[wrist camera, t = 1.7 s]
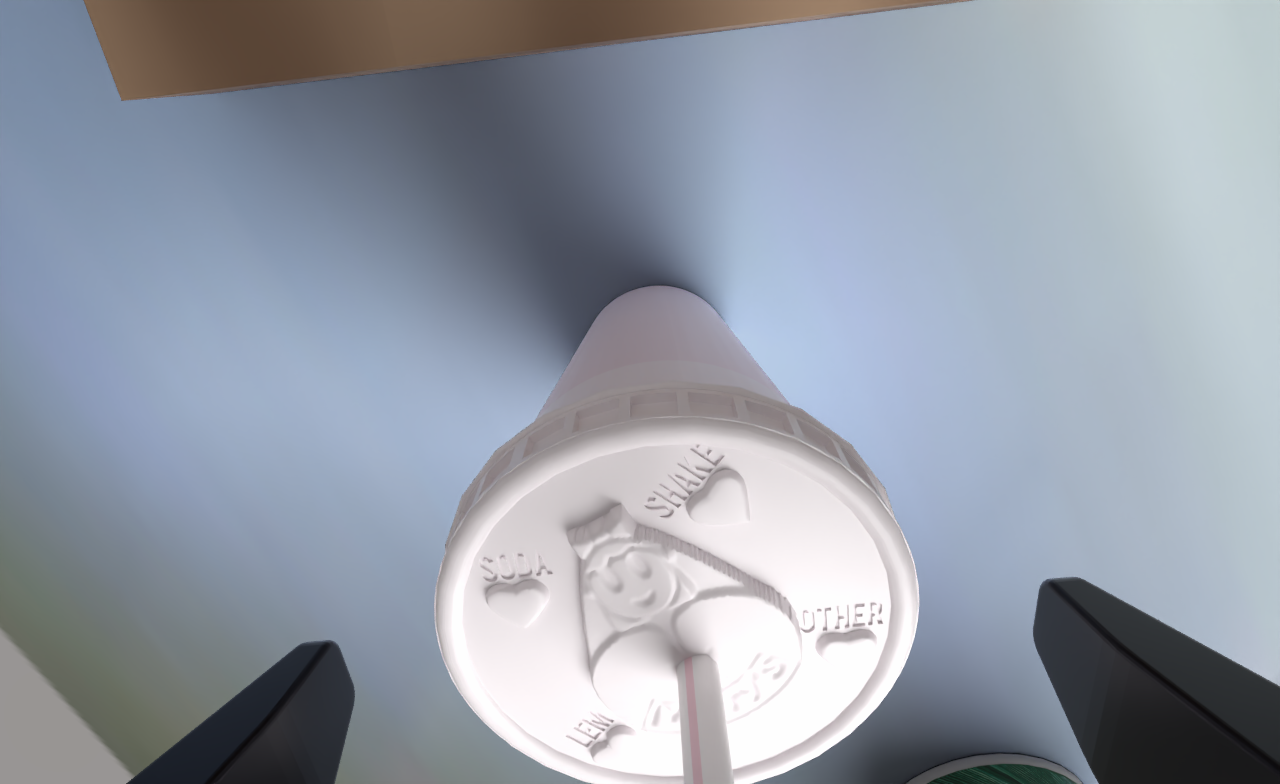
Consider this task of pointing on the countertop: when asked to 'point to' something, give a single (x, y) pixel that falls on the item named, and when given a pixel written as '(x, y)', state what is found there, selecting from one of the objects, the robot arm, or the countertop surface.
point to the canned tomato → (997, 771)
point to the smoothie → (674, 566)
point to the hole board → (395, 34)
